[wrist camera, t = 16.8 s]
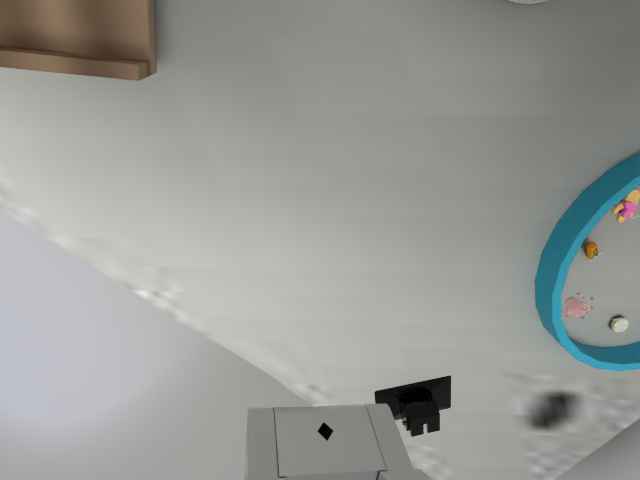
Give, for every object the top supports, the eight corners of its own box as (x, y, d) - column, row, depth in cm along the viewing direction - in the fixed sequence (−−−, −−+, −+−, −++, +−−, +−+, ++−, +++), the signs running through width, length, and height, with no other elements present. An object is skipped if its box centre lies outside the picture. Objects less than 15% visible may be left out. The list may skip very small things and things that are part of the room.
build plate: (367, 425, 61) (376, 455, 57) (363, 384, 58) (372, 413, 53) (458, 406, 62) (474, 435, 58) (458, 365, 59) (475, 392, 54)
